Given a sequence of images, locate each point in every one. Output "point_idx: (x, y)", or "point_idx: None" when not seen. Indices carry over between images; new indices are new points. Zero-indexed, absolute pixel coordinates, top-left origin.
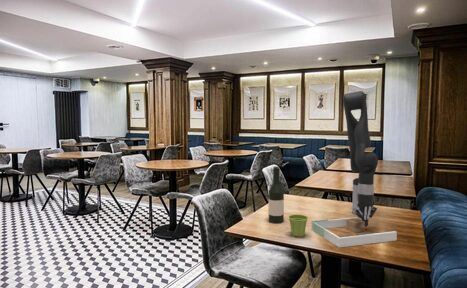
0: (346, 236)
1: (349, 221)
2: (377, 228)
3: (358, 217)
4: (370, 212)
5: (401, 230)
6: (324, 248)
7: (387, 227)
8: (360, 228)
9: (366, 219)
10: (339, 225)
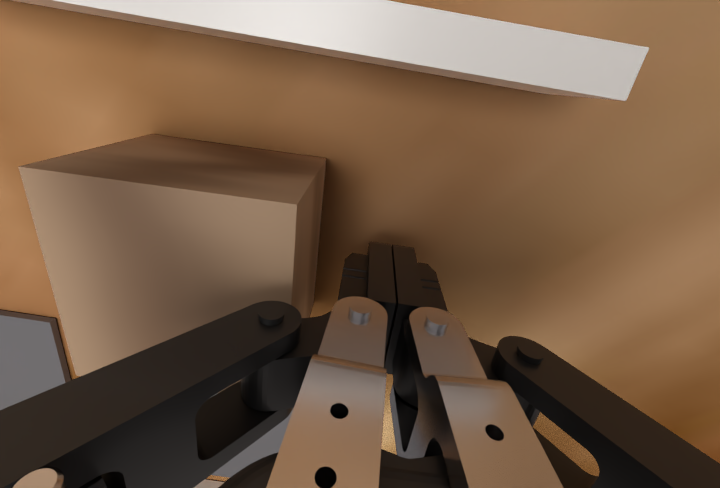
0: (11, 335)
1: (60, 248)
2: (554, 294)
3: (501, 58)
4: (613, 456)
5: (700, 427)
6: None
7: (696, 320)
8: None
9: (394, 363)
10: (55, 6)
